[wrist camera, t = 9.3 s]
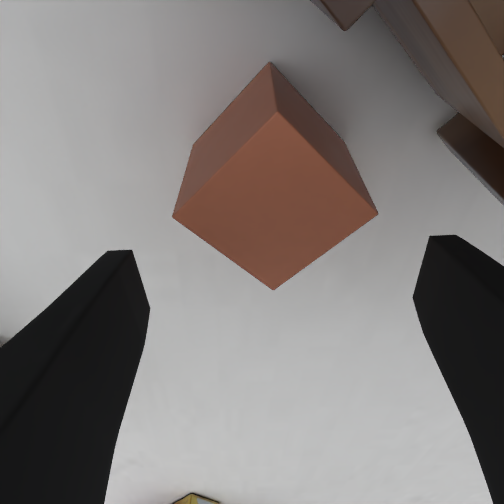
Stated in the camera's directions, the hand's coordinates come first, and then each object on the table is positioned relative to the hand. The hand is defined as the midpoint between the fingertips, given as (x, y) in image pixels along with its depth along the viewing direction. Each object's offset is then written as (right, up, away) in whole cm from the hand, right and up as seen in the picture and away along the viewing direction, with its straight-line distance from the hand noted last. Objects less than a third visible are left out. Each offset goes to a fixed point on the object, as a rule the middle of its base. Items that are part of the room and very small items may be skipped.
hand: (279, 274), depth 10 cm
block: (0, +5, +6) cm, 8 cm away
